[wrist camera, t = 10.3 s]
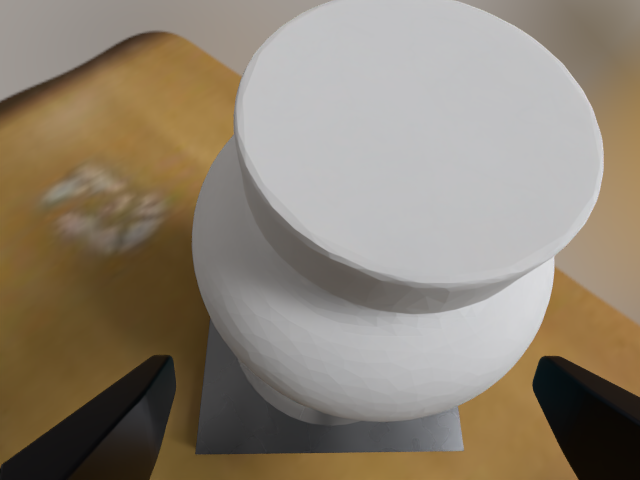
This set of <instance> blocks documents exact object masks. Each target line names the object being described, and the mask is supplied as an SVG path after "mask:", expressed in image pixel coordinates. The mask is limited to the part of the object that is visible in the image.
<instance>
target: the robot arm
mask: <svg viewBox="0 0 640 480" xmlns="http://www.w3.org/2000/svg"><path fill="white" fill-rule="evenodd" d="M532 386H533V391H534V393H535V396H536V398H537V400H538V402H539V404H540V406H541V408H542V410H543V412H544V414H545V417H546V419H547V421H548V423H549V425H550V427H551V429H552V431H553V433H554V435H555V438H556V440H557V442H558V444H559V446H560V448H561V450H562V452H563V453H564V455H565V457H566V459H567V461H568V462H569V464H570V466H571V467H572V469H573V471H574V473H575V474H576V476H577V478H578V479H579V480H640V397H638V396H636V395H634V394H632V393H630V392H628V391H626V390H625V389H623V388H621V387H619V386H617V385H615V384H613V383H611V382H609V381H607V380H605V379H603V378H601V377H599V376H597V375H595V374H594V373H592V372H590V371H588V370H586V369H584V368H582V367H580V366H578V365H576V364H574V363H572V362H570V361H568V360H566V359H564V358H562V357H560V356H543V357H542V358H541V359H540V360H539V363H538V366H537V369H536V372H535V376H534V379H533V385H532ZM175 391H176V378H175V370H174V363H173V359H172V357H171V356H170V355H154V356H152V357H150V358H149V359H147V360H146V361H145V362H143V363H142V364H140V365H139V366H138V367H136V368H135V369H134V370H132V371H131V372H129V373H128V374H127V375H125V376H124V377H122V378H121V379H120V380H118V381H117V382H115V383H114V384H113V385H111V386H110V387H109V388H107V389H106V390H104V391H103V392H102V393H100V394H99V395H97V396H96V397H95V398H93V399H92V400H91V401H89V402H88V403H86V404H85V405H84V406H82V407H81V408H79V409H78V410H77V411H75V412H74V413H72V414H71V415H70V416H68V417H67V418H66V419H64V420H63V421H61V422H60V423H59V424H57V425H56V426H54V427H53V428H52V429H50V430H49V431H48V432H46V433H45V434H43V435H42V436H41V437H39V438H38V439H36V440H35V441H34V442H32V443H31V444H30V445H28V446H27V447H25V448H24V449H23V450H21V451H20V452H18V453H17V454H16V455H14V456H13V457H11V458H10V459H9V460H7V461H6V462H5V463H3V464H2V465H1V469H0V480H149V479H150V476H151V474H152V471H153V469H154V466H155V463H156V460H157V457H158V454H159V450H160V447H161V443H162V440H163V436H164V432H165V429H166V425H167V421H168V418H169V414H170V410H171V407H172V403H173V399H174V396H175Z"/></svg>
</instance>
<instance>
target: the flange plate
mask: <svg viewBox="0 0 640 480" xmlns="http://www.w3.org/2000/svg"><path fill="white" fill-rule="evenodd" d="M417 451H464V448H463V441H462V433H461V426H460V419H459V411H458V406H456V407H454V408H452V409H449V410H446V411H444V412H441V413H438V414H434V415H430V416H425V417H421V418H416V419H412V420H404V421H389V422H372V421H361V420H352V419H346V418H341V417H336V416H332V415H329V414H325V413H321V412H318V411H316V410H313V409H310V408H308V407H305V406H303V405H300V404H298V403H296V402H294V401H293V400H291V399H289V398H287V397H286V396H284V395H282V394H281V393H279V392H278V391H276V390H275V389H273V388H272V387H270V386H269V385H268V384H266V383H265V382H264V381H263V380H261V379H260V378H259V377H257V376H256V375H255V374H254V373H253V372H252V371H251V370H250V369H248V368H247V367H246V366H245V365H244V364H243V363H242V362H241V361H240V359H239V358H238V357H237V356H236V355H235V354H234V353H233V352H232V350H231V349H230V348H229V346H228V345H227V344H226V342H225V341H224V340H223V338H222V337H221V335H220V334H219V332H218V331H217V329H216V328H215V326H214V324H213V322H212V320H211V318H210V326H209V335H208V344H207V353H206V362H205V371H204V380H203V389H202V398H201V407H200V416H199V425H198V434H197V443H196V452H195V454H268V453H342V452H417Z"/></svg>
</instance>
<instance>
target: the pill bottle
mask: <svg viewBox="0 0 640 480" xmlns="http://www.w3.org/2000/svg"><path fill="white" fill-rule="evenodd" d="M602 176H603V142H602V137H601V133H600V130H599V127H598V124H597V121H596V117H595V114H594V111H593V109H592V107H591V105H590V103H589V101H588V99H587V97H586V95H585V93H584V91H583V90H582V88H581V87H580V86H579V84H577V82H576V80H575V79H574V78H573V77H572V75H571V74H570V73H569V71H568V70H567V68H566V67H565V66H564V64H563V63H561V62H560V61H559V60H558V59H557V58H556V57H555V56H554V55H552V54H551V53H550V52H549V51H548V50H547V49H546V48H545V47H544V46H542V45H541V44H540V43H539V42H537V41H536V40H535V39H533V38H532V37H531V36H529V35H528V34H526V33H525V32H523V31H522V30H520V29H519V28H517V27H515V26H514V25H512V24H510V23H508V22H506V21H504V20H502V19H500V18H498V17H496V16H494V15H492V14H490V13H488V12H485V11H483V10H481V9H478V8H476V7H473V6H470V5H467V4H464V3H462V2H459V1H454V0H333V1H330V2H327V3H324V4H322V5H319V6H316V7H314V8H311V9H310V10H308V11H305V12H304V13H302V14H300V15H298V16H296V17H295V18H293V19H292V20H290V21H289V22H287V23H286V24H284V25H282V26H281V27H280V28H279V29H278V30H277V31H275V32H274V33H273V34H272V35H271V36H270V37H269V38H268V39H267V40H266V41H265V42H264V43H263V44H262V45H261V46H260V48H259V49H258V50H257V51H256V52H255V54H254V55H253V57H252V59H251V61H250V62H249V64H248V66H247V67H246V69H245V71H244V73H243V76H242V78H241V81H240V84H239V87H238V91H237V96H236V101H235V110H234V135H233V136H232V137H231V139H230V140H229V141H228V142H227V143H226V145H225V146H224V147H223V149H222V150H221V151H220V153H219V154H218V156H217V157H216V159H215V160H214V162H213V164H212V165H211V167H210V170H209V172H208V174H207V176H206V178H205V180H204V182H203V185H202V188H201V191H200V194H199V197H198V200H197V204H196V208H195V213H194V220H193V229H192V254H193V263H194V270H195V274H196V278H197V282H198V286H199V290H200V293H201V296H202V299H203V301H204V304H205V306H206V309H207V311H208V313H209V315H210V318H211V320H212V322H213V324H214V326H215V328H216V329H217V331H218V332H219V334H220V335H221V337H222V338H223V340H224V341H225V342H226V344H227V345H228V346H229V348H230V349H231V350H232V352H233V353H234V354H235V355H236V356H237V357H238V358H239V359H240V361H241V362H242V363H243V364H244V365H245V366H246V367H247V368H248V369H250V370H251V371H252V372H253V373H254V374H255V375H256V376H257V377H259V378H260V379H261V380H263V381H264V382H265V383H266V384H268V385H269V386H270V387H272V388H273V389H275V390H276V391H278V392H279V393H281V394H282V395H284V396H286V397H287V398H289V399H291V400H293V401H294V402H296V403H298V404H300V405H303V406H305V407H308V408H310V409H313V410H316V411H318V412H321V413H325V414H329V415H332V416H336V417H341V418H346V419H352V420H361V421H372V422H389V421H404V420H412V419H416V418H421V417H425V416H430V415H434V414H438V413H441V412H444V411H446V410H449V409H452V408H454V407H456V406H459V405H461V404H463V403H465V402H467V401H469V400H471V399H472V398H474V397H476V396H477V395H479V394H481V393H482V392H484V391H485V390H487V389H488V388H489V387H491V386H492V385H493V384H494V383H496V382H497V381H498V380H500V379H501V378H502V377H503V376H504V375H505V374H506V373H507V372H508V371H509V370H510V369H511V368H512V367H513V366H514V365H515V364H516V363H517V361H518V360H519V359H520V358H521V356H522V355H523V354H524V352H525V351H526V349H527V348H528V346H529V345H530V343H531V342H532V340H533V339H534V337H535V335H536V333H537V331H538V329H539V327H540V325H541V323H542V321H543V318H544V315H545V311H546V309H547V306H548V303H549V300H550V295H551V291H552V286H553V277H554V256H555V255H556V254H557V253H558V252H560V251H561V250H562V249H563V248H564V247H565V246H566V245H567V244H568V243H569V242H570V241H571V240H572V239H573V238H574V236H575V235H576V234H577V233H578V232H579V230H580V229H581V228H582V227H583V226H584V224H585V223H586V221H587V219H588V217H589V215H590V213H591V211H592V209H593V207H594V205H595V203H596V201H597V198H598V195H599V191H600V186H601V181H602Z"/></svg>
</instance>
